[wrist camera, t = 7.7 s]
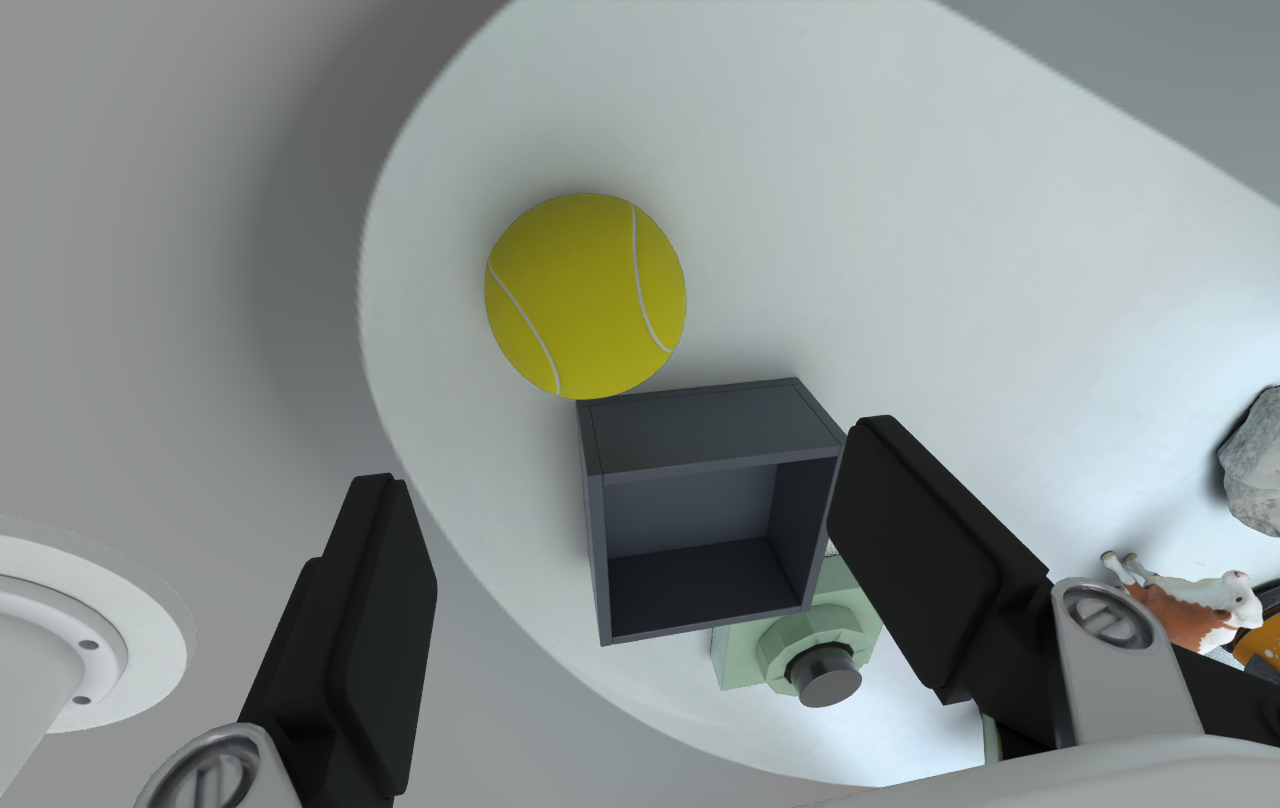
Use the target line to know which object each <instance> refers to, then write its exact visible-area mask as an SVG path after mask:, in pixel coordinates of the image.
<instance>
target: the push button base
mask: <svg viewBox="0 0 1280 808" xmlns="http://www.w3.org/2000/svg"><path fill="white" fill-rule="evenodd" d="M882 626H883V622H882V620H881V619H880V617H879V615H878V614H877V612H876V611H875V609H874V608H873V606H872V604H871V603H870V601H869V600H868V598H867V596H866V595H865V593H864V592H863V590H862V589H861V587H860V585H859V584H858V582H857V581H856V579H855V578H854V576H853V574H852V573H851V571H850V570H849V568H848V566H847V565H846V563H845V562H844V560H843V559H842V557H841V555H837V556H830V557H824V559H823V563H822V567H821V570H820V574H819V578H818V582H817V586H816V590H815V593H814V597H813V601H812V605H811V609H810V611H808V612H802V613H800V612H799V613H796V614H790V615H784V616H778V617H773V618H767V619H761V620H755V621H749V622H743V623H737V624H731V625H726V626H720V627H714V628H713V635H712V645H711V654H710V657H711V660H712V663H713V667H714V670H715V673H716V676H717V679H718V683H719V686H720V689H721V691H724V690H729V689H735V688H740V687H745V686H750V685H756V684H761V683H767V684H768V685H769V686H770V687H771V688H772V690H773V691H774V692H775V693H777V694H784V695H790V696H798V695H797V693H796V690H795V688H794V686H793V683H792V681H791V679H790V676H789V674H788V672H787V669H786V665H787V663H788V662H790V661H791V660H792V659H793V658H794V657H795V656H796V655H797V654H798V653H800V652H802V651H804V650H806V649H808V648H810V647H812V646H814V645H816V644H821V643H827V642H832V641H836V642H841V643H843V644H844V645H845V646H846V648H847V650H848V652H849V654H850V656H851V657H852V659H853V661H854V663H855V665H856V667H857V668H858V670H859V669H860V668H861V667H862V666H863V665H864V664H867V663H868V662H869V659H870V657H871V654H872V652H873V649H874V646H875V644H876V641H877V639H878V636H879V634H880V631H881V628H882Z"/></svg>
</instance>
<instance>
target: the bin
mask: <svg viewBox="0 0 1280 808" xmlns="http://www.w3.org/2000/svg"><path fill="white" fill-rule="evenodd" d="M576 411H577V422H578V434H579V446H580V457H581V469H582V481H583V492H584V504H585V515H586V527H587V539H588V550H589V562H590V569H591V577H592V584H593V592H594V600H595V607H596V615H597V622H598V630H599V638H600V645H601V647H603V646H609V645H612V643H613V644H620V643H626V642H632V641H638V640H643V639H649V638H655V637H661V636H667V635H673V634H679V633H685V632H690V631H696V630H702V629H708V628H714V627H720V626H726V625H731V624H737V623H743V622H749V621H755V620H761V619H767V618H773V617H778V616H784V615H790V614H796V613H799V612H800V613H802V612H808V611H810V609H811V605H812V601H813V597H814V593H815V590H816V586H817V582H818V578H819V574H820V570H821V567H822V563H823V559H824V555H825V551H826V547H827V544H828V540H829V536H828V533H827V528H826V520H827V516H828V512H829V508H830V504H831V500H832V496H833V492H834V488H835V484H836V480H837V476H838V472H839V468H840V464H841V460H842V456H843V452H844V448H845V444H846V440H847V435H846V434H845V433H844V432H843V431H842V429H841V428H840V427H839V426H838V425H837V423H836V422H835V421H834V420H833V419H832V418H831V416H830V415H829V414H828V413H827V412H826V411H825V409H824V408H823V407H822V406H821V405H820V403H819V402H818V401H817V400H816V399H815V398H814V396H813V395H812V394H811V393H810V392H809V390H808V389H807V388H806V387H805V386H804V385H803V383H802V382H801V381H800V380H799V378H790V379H780V380H771V381H761V382H751V383H741V384H732V385H722V386H712V387H702V388H693V389H683V390H673V391H663V392H654V393H644V394H634V395H625V396H615V397H605V398H597V399H586V400H576Z"/></svg>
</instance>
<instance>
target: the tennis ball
mask: <svg viewBox="0 0 1280 808" xmlns="http://www.w3.org/2000/svg"><path fill="white" fill-rule="evenodd" d="M485 305H486V311H487V316H488V320H489V324H490V327H491V329H492V332H493V335H494V337H495V339H496V341H497V343H498V345H499V347H500V348H501V350H502V352H503V353H504V355H505V356H506V357H507V359H508V360H509V361H510V363H511V364H512V365H513V366H514V367H515V368H516V369H517V371H519V372H520V373H521V374H522V375H523V376H524V377H525V378H526V379H528V380H529V381H530V382H532V383H533V384H534V385H536V386H537V387H539V388H541V389H543V390H544V391H546V392H549V393H551V394H556V395H558V396H561V397H564V398H570V399H597V398H604V397H608V396H613V395H616V394H619V393H622V392H624V391H627V390H629V389H631V388H633V387H635V386H637V385H639V384H640V383H642V382H644V381H645V380H647V379H648V378H649V377H651V376H652V375H653V374H654V373H656V372H657V371H658V370H659V369H660V368H661V367H662V366H663V365H664V364H665V363H666V361H667V360H668V359H669V357H670V356H671V355H672V353H673V351H674V349H675V347H676V346H677V344H678V342H679V339H680V337H681V333H682V330H683V326H684V321H685V314H686V288H685V281H684V277H683V272H682V269H681V266H680V263H679V260H678V257H677V255H676V253H675V251H674V249H673V247H672V245H671V244H670V242H669V240H668V239H667V237H666V236H665V234H664V233H663V231H662V230H661V229H660V228H659V227H658V226H657V224H656V223H655V222H654V221H653V220H652V219H651V218H650V217H649V216H648V215H646V214H645V213H644V212H643V211H642V210H641V209H639V208H638V207H637V206H635V205H634V204H632V203H629V202H628V201H626V200H623V199H620V198H616V197H612V196H607V195H600V194H574V195H567V196H563V197H559V198H555V199H552V200H549V201H547V202H545V203H542V204H540V205H538V206H536V207H534V208H533V209H531V210H529V211H528V212H526V213H525V214H523V215H522V216H521V217H520V218H518V219H517V220H516V221H515V222H514V223H513V224H512V225H511V226H510V227H509V228H508V229H507V230H506V231H505V233H504V234H503V235H502V236H501V238H500V239H499V240H498V242H497V243H496V245H495V246H494V248H493V249H492V251H491V254H490V256H489V259H488V262H487V265H486V271H485Z"/></svg>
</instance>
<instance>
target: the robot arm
mask: <svg viewBox="0 0 1280 808" xmlns="http://www.w3.org/2000/svg"><path fill="white" fill-rule="evenodd" d="M826 528H827V533H828V536H829V538H830V540H831V541H832V543H833V544H834V546H835V548H836V549H837V551H838V552H839V554H840V555H841V557H842V559H843V560H844V562H845V563H846V565H847V566H848V568H849V570H850V571H851V573H852V574H853V576H854V578H855V579H856V581H857V582H858V584H859V585H860V587H861V589H862V590H863V592H864V593H865V595H866V596H867V598H868V600H869V601H870V603H871V604H872V606H873V608H874V609H875V611H876V612H877V614H878V615H879V617H880V619H881V620H882V622H883V623H884V625H885V626H886V628H887V630H888V631H889V633H890V634H891V636H892V638H893V639H894V641H895V642H896V644H897V645H898V647H899V649H900V650H901V652H902V653H903V655H904V656H905V658H906V660H907V661H908V663H909V664H910V666H911V668H912V669H913V671H914V672H915V674H916V675H917V677H918V679H919V680H920V681H921V683H922V684H923V685H924V686H925V687H927V688H929V689H933V690H934V692H935V694H936V695H937V697H938V698H939V700H940V701H941V703H942V704H943V706H945V705H949V704H954V703H959V702H964V701H969V700H971V699H972V698H973V699H974V701H975V702H976V704H977V705H978V706H979V708H980V709H981V711H982V720H983V737H984V754H985V765H982V766H978V767H973V768H969V769H964V770H960V771H955V772H951V773H946V774H942V775H937V776H932V777H928V778H923V779H919V780H914V781H910V782H905V783H901V784H896V785H892V786H887V787H883V788H878V789H873V790H869V791H865V792H860V793H856V794H852V795H847V796H842V797H838V798H834V799H829V800H825V801H820V802H816V803H811V804H807V805H803V806H798V807H794V808H1280V686H1279V685H1276V684H1274V683H1271V682H1269V681H1266V680H1264V679H1261V678H1259V677H1256V676H1254V675H1251V674H1249V673H1246V672H1244V671H1241V670H1239V669H1236V668H1234V667H1231V666H1229V665H1226V664H1224V663H1221V662H1219V661H1216V660H1214V659H1211V658H1209V657H1206V656H1204V655H1201V654H1199V653H1196V652H1194V651H1191V650H1189V649H1186V648H1184V647H1181V646H1179V645H1176V644H1174V643H1171V642H1170V641H1169V638H1168V636H1167V633H1166V631H1165V630H1164V628H1163V626H1162V625H1161V623H1160V621H1159V620H1158V619H1157V618H1156V617H1155V616H1154V615H1153V614H1152V613H1151V611H1150V610H1149V609H1148V608H1147V607H1145V606H1144V605H1143V604H1141V603H1140V602H1139V601H1137V600H1136V599H1135V598H1133V597H1132V596H1130V595H1128V594H1127V593H1125V592H1123V591H1121V590H1119V589H1117V588H1116V587H1113V586H1111V585H1108V584H1105V583H1103V582H1100V581H1097V580H1092V579H1087V578H1082V577H1077V578H1066V579H1063V580H1061V581H1058V582H1057V583H1056V584H1055V585H1054V584H1053V583H1052V582H1051V581H1050V580H1049V579H1048V578H1047V577H1046V575H1047V573H1048V572H1049V569H1048V568H1047V567H1046V566H1045V565H1044V564H1043V563H1042V562H1041V561H1040V560H1039V559H1038V558H1037V557H1036V556H1035V555H1034V554H1033V553H1032V552H1031V551H1030V550H1029V549H1028V548H1027V547H1026V546H1025V545H1024V544H1023V543H1022V542H1021V541H1020V540H1019V539H1018V538H1017V537H1016V536H1015V535H1014V534H1013V533H1012V532H1011V531H1010V530H1009V529H1008V528H1007V527H1006V526H1004V525H1003V524H1002V523H1001V522H1000V521H999V520H998V519H997V518H996V517H995V516H994V515H993V514H992V513H991V512H990V511H989V510H988V509H987V508H986V507H985V506H984V505H983V504H982V503H981V502H980V501H979V500H978V499H977V498H976V497H975V496H974V495H973V494H972V493H971V492H970V491H969V490H968V489H967V488H966V487H965V486H964V485H963V484H962V483H961V482H960V481H959V480H958V479H957V478H955V477H954V476H953V475H952V474H951V473H950V472H949V471H948V470H947V469H946V468H945V467H944V466H943V465H942V464H941V463H940V462H939V461H938V460H937V459H936V458H935V457H934V456H933V455H932V454H931V453H930V452H929V451H928V450H927V449H926V448H925V447H924V446H923V445H922V444H921V443H920V442H919V441H918V440H917V439H916V438H915V437H914V436H913V435H912V434H911V433H910V432H909V431H908V430H906V429H905V428H904V427H903V426H902V425H901V424H900V423H899V422H898V421H897V420H896V419H895V418H894V417H893V416H891V415H880V416H872V417H863V418H860V419H859V420H858V421H857V423H856V425H855V426H852V427H851V428H850V430H849V432H848V436H847V440H846V444H845V448H844V452H843V456H842V460H841V464H840V468H839V472H838V476H837V480H836V484H835V488H834V492H833V496H832V500H831V504H830V508H829V512H828V516H827V520H826ZM436 601H437V580H436V576H435V573H434V570H433V567H432V564H431V560H430V557H429V554H428V551H427V548H426V545H425V542H424V539H423V536H422V532H421V529H420V526H419V523H418V520H417V517H416V514H415V511H414V508H413V505H412V501H411V498H410V495H409V492H408V489H407V486H406V483H405V481H404V480H402V479H401V480H395V479H394V477H393V476H392V474H391V473H382V474H373V475H365V476H357V477H355V478H354V479H353V481H352V482H351V485H350V488H349V490H348V493H347V495H346V497H345V500H344V502H343V505H342V507H341V510H340V512H339V515H338V518H337V520H336V523H335V525H334V528H333V530H332V533H331V535H330V538H329V540H328V543H327V545H326V548H325V550H324V553H323V555H322V557H317V558H311V559H310V560H309V561H307V562H306V564H305V565H304V567H303V569H302V571H301V573H300V575H299V578H298V580H297V582H296V584H295V587H294V589H293V591H292V594H291V596H290V599H289V601H288V603H287V605H286V608H285V610H284V613H283V615H282V617H281V619H280V622H279V624H278V627H277V629H276V631H275V633H274V636H273V638H272V640H271V643H270V645H269V647H268V650H267V652H266V654H265V657H264V659H263V661H262V664H261V666H260V669H259V671H258V673H257V676H256V678H255V680H254V683H253V685H252V688H251V690H250V692H249V694H248V697H247V699H246V701H245V704H244V706H243V708H242V711H241V713H240V716H239V718H238V720H237V722H236V723H231V724H227V725H224V726H221V727H217V728H214V729H211V730H209V731H207V732H205V733H204V734H202V735H200V736H198V737H196V738H194V739H192V740H190V741H189V742H188V743H187V744H185V745H184V746H183V747H181V748H180V749H179V750H178V751H176V752H175V753H173V754H172V755H171V756H170V757H169V758H168V759H167V760H166V761H165V762H164V763H163V764H162V765H161V766H160V767H159V768H158V769H157V770H156V772H155V773H154V774H153V775H152V776H151V777H150V779H149V780H148V782H147V783H146V785H145V786H144V788H143V789H142V791H141V792H140V794H139V795H138V797H137V799H136V802H135V804H134V807H133V808H393V802H394V796H396V795H402V794H404V792H405V790H406V788H407V784H408V779H409V773H410V767H411V760H412V754H413V747H414V741H415V735H416V728H417V722H418V716H419V709H420V703H421V697H422V690H423V684H424V677H425V671H426V665H427V659H428V652H429V646H430V639H431V632H432V627H433V619H434V614H435V608H436ZM126 665H127V649H126V647H125V644H124V642H123V639H122V637H121V636H120V635H119V634H118V632H117V631H116V630H115V628H114V627H113V626H112V625H111V624H110V623H109V622H108V621H107V620H106V619H104V618H103V617H102V616H101V615H100V614H99V613H97V612H96V611H94V610H93V609H91V608H89V607H88V606H86V605H84V604H83V603H81V602H80V601H78V600H76V599H74V598H71V597H69V596H67V595H65V594H62V593H60V592H58V591H56V590H54V589H50V588H47V587H44V586H41V585H38V584H35V583H32V582H29V581H26V580H21V579H17V578H12V577H8V576H3V575H0V798H1V796H2V795H3V793H4V792H5V790H6V789H7V787H8V786H9V785H10V783H11V782H12V780H13V779H14V778H15V776H16V775H17V773H18V772H19V770H20V769H21V768H22V766H23V765H24V763H25V762H26V760H27V759H28V758H29V756H30V755H31V753H32V752H33V751H34V749H35V747H36V746H37V745H38V743H39V742H40V741H41V739H42V738H43V736H44V735H45V733H46V732H47V731H48V729H49V728H50V726H51V725H52V723H53V722H54V721H55V719H58V718H62V717H66V716H69V715H71V714H74V713H77V712H80V711H83V710H85V709H87V708H89V707H91V706H93V705H95V704H96V703H98V702H100V701H101V700H102V699H103V698H105V697H106V696H107V695H108V694H109V693H110V692H111V691H112V690H113V688H114V687H115V685H116V684H117V682H118V681H119V679H120V678H121V676H122V675H123V673H124V670H125V667H126Z"/></svg>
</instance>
